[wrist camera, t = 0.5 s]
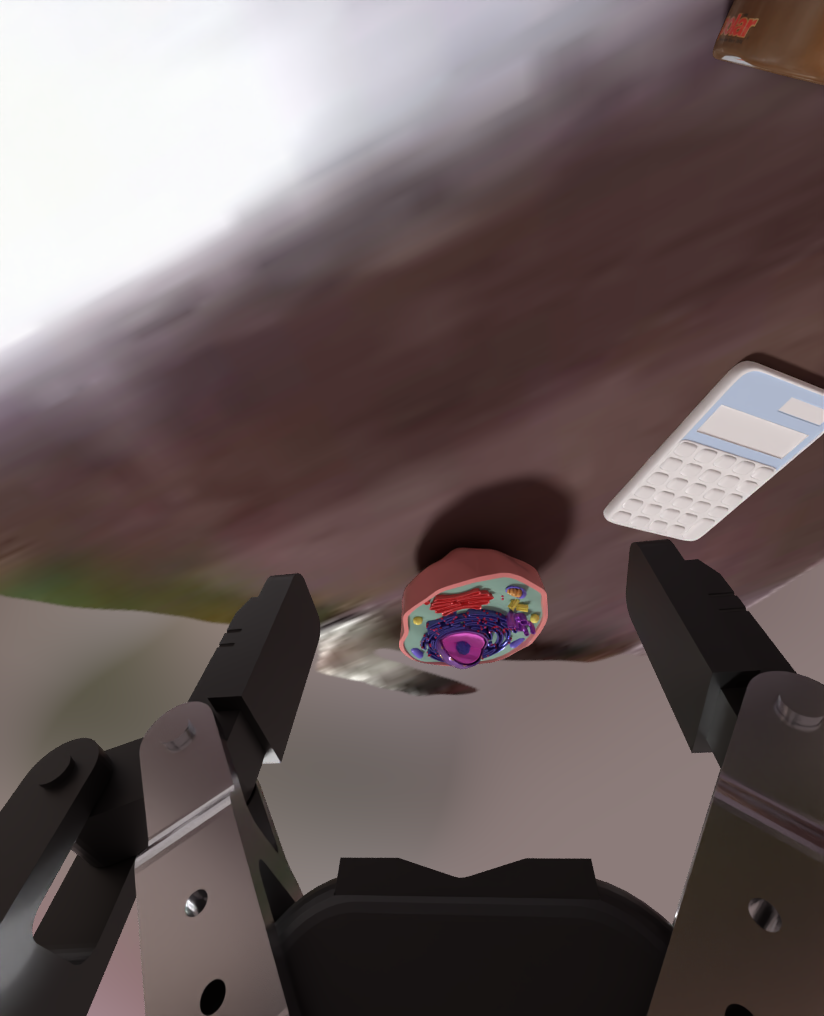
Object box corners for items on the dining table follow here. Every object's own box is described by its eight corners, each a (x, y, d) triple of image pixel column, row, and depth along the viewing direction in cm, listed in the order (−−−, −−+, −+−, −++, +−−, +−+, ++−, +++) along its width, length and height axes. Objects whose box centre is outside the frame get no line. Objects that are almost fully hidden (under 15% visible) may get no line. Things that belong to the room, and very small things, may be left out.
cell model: (567, 540, 54) (598, 623, 46) (477, 622, 67) (490, 700, 59) (443, 498, 49) (455, 585, 41) (370, 597, 61) (369, 679, 53)
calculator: (597, 511, 52) (602, 523, 50) (738, 353, 39) (751, 364, 37) (688, 534, 55) (696, 546, 54) (846, 396, 42) (861, 407, 41)
